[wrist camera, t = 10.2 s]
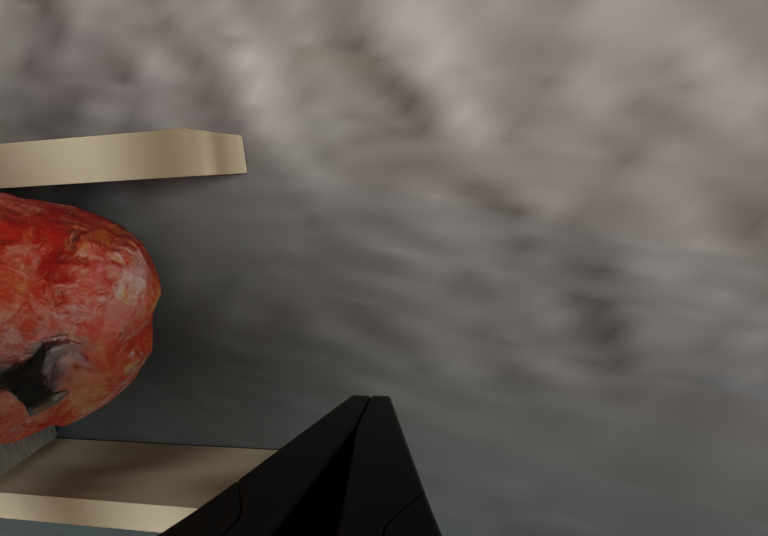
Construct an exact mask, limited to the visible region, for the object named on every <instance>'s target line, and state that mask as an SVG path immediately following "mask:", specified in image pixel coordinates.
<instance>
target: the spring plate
mask: <svg viewBox="0 0 768 536" xmlns="http://www.w3.org/2000/svg"><path fill="white" fill-rule="evenodd" d="M56 436H58V435H57V432H56V429H55V426H50V427H47V428H45V429H43V430H41V431H39V432H37V433H35V434H32V435H30V436H28V437H25V438H23V439H21V440H18V441H15V442H11V443H4V444H0V476H1V475H2V474H4V473H5V472H7V471H8V470H9V469H11V468H12V467H14V466H15V465H16V464H18V463H19V462H21V461H22V460H24V459H25V458H26V457H28V456H29V455H31V454H32V453H33V452H35V451H36V450H38V449H39V448H41V447H42V446H43V445H45V444H46V443H48V442H49V441H51V440H52V439H53V438H55V437H56Z"/></svg>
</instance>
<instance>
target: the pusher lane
mask: <svg viewBox="0 0 768 536" xmlns="http://www.w3.org/2000/svg"><path fill="white" fill-rule="evenodd" d="M240 173H247V168H246V161H245V154H244V147H243V140H242V136H240V135H232V134H224V133H217V132H209V131H202V130H194V129H186V128H183V129H171V130H159V131H147V132H136V133H124V134H112V135H100V136H88V137H76V138H64V139H53V140H41V141H29V142H17V143H5V144H0V189H3V188H18V187H34V186H50V185H66V184H82V183H98V182H113V181H129V180H145V179H161V178H177V177H193V176H208V175H224V174H240ZM277 451H278V450H265V449H246V448H228V447H209V446H191V445H172V444H153V443H135V442H116V441H97V440H79V439H60V438H53V439H52V440H51V441H49V442H48V443H46V444H45V445H43V446H42V447H41V448H39V449H38V450H36V451H35V452H33V453H32V454H31V455H29V456H28V457H26V458H25V459H24V460H22V461H21V462H19V463H18V464H16V465H15V466H14V467H12V468H11V469H9V470H8V471H7V472H5V473H4V474H2V475H1V476H0V518H9V519H20V520H31V521H42V522H52V523H63V524H74V525H85V526H96V527H106V528H117V529H128V530H139V531H150V532H160V533H162V532H164V531H165V530H167V529H168V528H170V527H171V526H173V525H174V524H176V523H178V522H179V521H181V520H182V519H184V518H185V517H187V516H188V515H190V514H191V513H193V512H194V511H196V510H197V509H198V508H200V507H201V506H203V505H204V504H206V503H207V502H208V501H210V500H211V499H213V498H214V497H215V496H217V495H218V494H220V493H221V492H222V491H224V490H225V489H226V488H228V487H229V486H230V485H232V484H233V483H235V482H237V483H238V480H239V479H240V478H241V477H243V476H244V475H246V474H247V473H248V472H250V471H251V470H252V469H254V468H255V467H256V466H258V465H259V464H260V463H262V462H263V461H264V460H266V459H267V458H269V457H270V456H271V455H273V454H274V453H275V452H277Z"/></svg>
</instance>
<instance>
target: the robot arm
mask: <svg viewBox="0 0 768 536" xmlns="http://www.w3.org/2000/svg"><path fill="white" fill-rule="evenodd" d="M158 536H442V534H441V532H440V530H439V527H438V525H437V522H436V520H435V518H434V515H433V513H432V510H431V508H430V505H429V502H428V499H427V497H426V496H425V492H424V489H423V486H422V484H421V481H420V478H419V475H418V473H417V470H416V467H415V464H414V462H413V459H412V456H411V454H410V451H409V448H408V445H407V443H406V440H405V437H404V434H403V432H402V429H401V426H400V423H399V421H398V418H397V415H396V413H395V410H394V407H393V404H392V402H391V399H390V397H388V396H372V397H371V398H370V397H369V396H360V395H354V396H351V397H350V398H348V399H347V400H346V401H344V402H343V403H342V404H340V405H339V406H338V407H336V408H335V409H334V410H332V411H331V412H329V413H328V414H327V415H325V416H324V417H323V418H321V419H320V420H319V421H317V422H316V423H315V424H313V425H312V426H311V427H309V428H308V429H306V430H305V431H304V432H302V433H301V434H300V435H298V436H297V437H296V438H294V439H293V440H292V441H290V442H289V443H288V444H286V445H285V446H283V447H282V448H281V449H279V450H278V451H277V452H275V453H274V454H273V455H271V456H270V457H269V458H267V459H266V460H264V461H263V462H262V463H260V464H259V465H258V466H256V467H255V468H254V469H252V470H251V471H250V472H248V473H247V474H246V475H244V476H243V477H241V478H240V479H239V480H238V483H237V482H235V483H233V484H232V485H230V486H229V487H228V488H226V489H225V490H224V491H222V492H221V493H220V494H218V495H217V496H215V497H214V498H213V499H211V500H210V501H208V502H207V503H206V504H204V505H203V506H201V507H200V508H198V509H197V510H196V511H194V512H193V513H191V514H190V515H188V516H187V517H185V518H184V519H182V520H181V521H179V522H178V523H176V524H174V525H173V526H171V527H170V528H168V529H167V530H165V531H164V532H162V533H161V534H159V535H158Z"/></svg>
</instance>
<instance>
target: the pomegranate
mask: <svg viewBox="0 0 768 536" xmlns="http://www.w3.org/2000/svg"><path fill="white" fill-rule="evenodd" d="M160 295H161V285H160V279H159V276H158V274H157V271H156V268H155V265H154V262H153V260H152V258H151V257H150V255H149V254H148V252H147V250H146V248H145V247H144V245H143V244H142V243H141V242H140V240H139V239H137V238H136V237H135V236H134V235H133V234H132V233H130V232H128V231H127V230H125V229H124V227H122V226H120V225H119V224H117V223H116V222H113V221H111V220H109V219H106V218H104V217H102V216H100V215H98V214H95V213H92V212H89V211H86V210H83V209H80V208H77V207H74V206H70V205H63V204H57V203H52V202H46V201H40V200H37V199H22V198H19V197H17V196H15V195H13V194H8V193H0V444H4V443H11V442H15V441H18V440H21V439H23V438H25V437H28V436H30V435H32V434H35V433H37V432H39V431H41V430H43V429H45V428H47V427H50V426H62V427H65V426H67V425H69V424H71V423H73V422H75V421H78V420H80V419H82V418H84V417H86V416H87V415H89V414H91V413H93V412H94V411H96V410H98V409H99V408H101V407H103V406H104V405H106V404H107V403H108V402H110V401H111V400H112V399H113V398H115V397H116V396H117V395H119V394H120V393H121V392H122V391H123V390H124V389H125V388H127V387H128V386H129V385H130V384H131V383H132V381H133V380H134V379H135V378H136V377H137V376H138V372H139V370H140V368H141V367H142V365H143V364H144V363H145V361H146V360H147V358H148V357H149V355H150V354H151V352H152V348H153V326H152V320H153V312H154V310H155V307H156V305H157V302H158V300H159V298H160Z"/></svg>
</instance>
